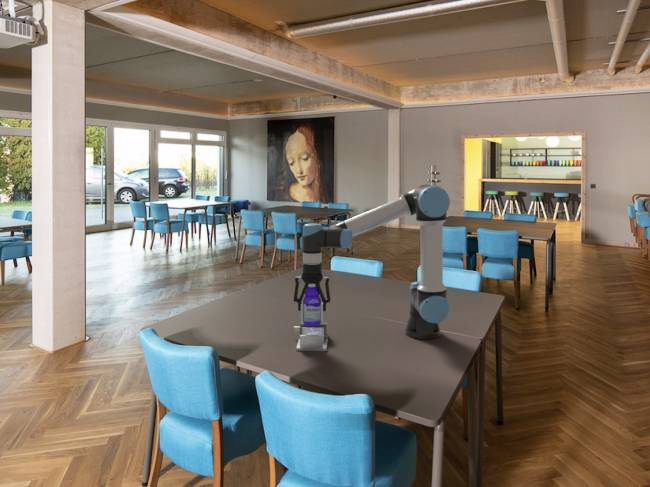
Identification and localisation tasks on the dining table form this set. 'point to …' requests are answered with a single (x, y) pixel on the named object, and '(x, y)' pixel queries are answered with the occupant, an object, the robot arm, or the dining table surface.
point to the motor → (322, 324)
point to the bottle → (312, 306)
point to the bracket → (312, 339)
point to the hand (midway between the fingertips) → (312, 318)
